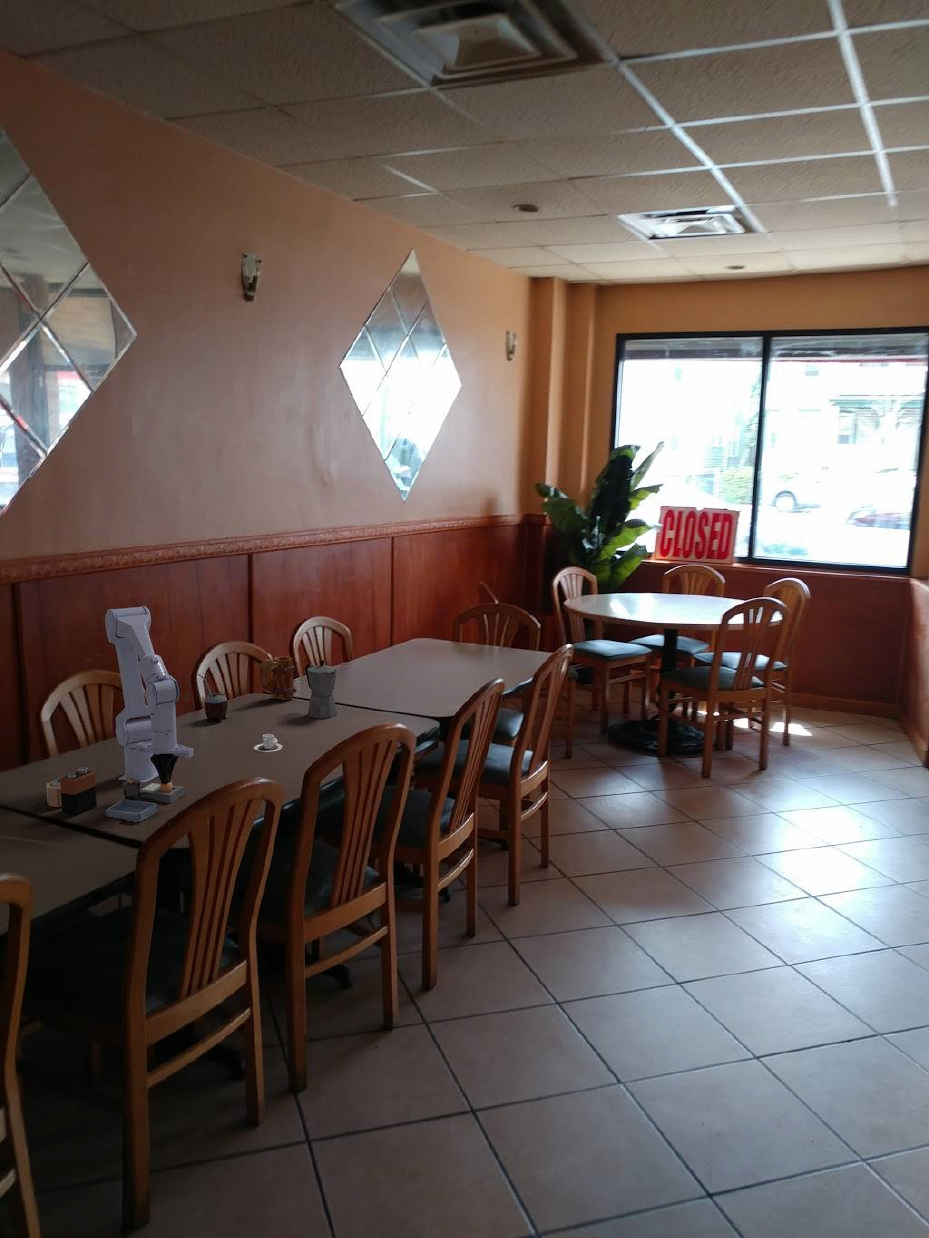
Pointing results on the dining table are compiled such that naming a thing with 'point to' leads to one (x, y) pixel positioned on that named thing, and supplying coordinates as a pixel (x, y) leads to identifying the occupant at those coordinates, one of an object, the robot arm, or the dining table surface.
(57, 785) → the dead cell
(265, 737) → the teacup and saucer
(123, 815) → the trough tray
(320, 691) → the coffeepot
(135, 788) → the copper top cell
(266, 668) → the mug
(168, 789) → the button
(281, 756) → the dining table surface
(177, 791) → the base
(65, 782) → the battery
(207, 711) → the mate gourd
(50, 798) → the cup
